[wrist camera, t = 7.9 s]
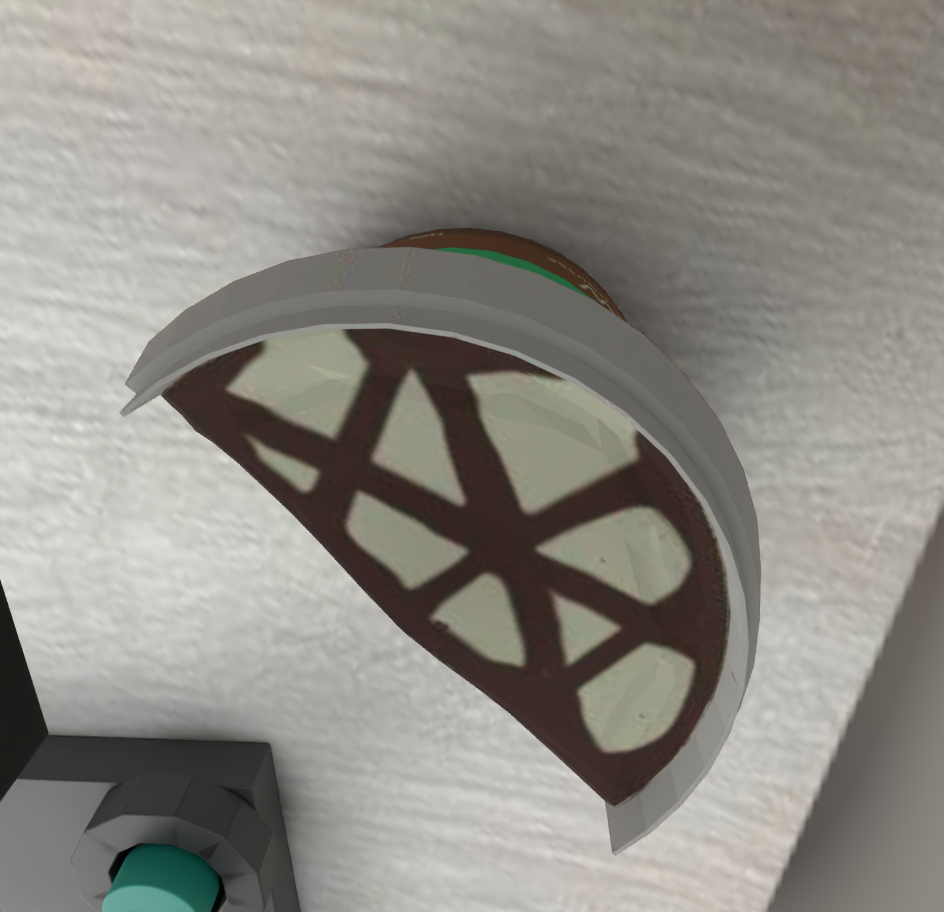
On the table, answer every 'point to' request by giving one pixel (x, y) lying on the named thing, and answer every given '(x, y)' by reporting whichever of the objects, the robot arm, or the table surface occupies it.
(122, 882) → the button
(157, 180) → the table surface
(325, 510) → the food container
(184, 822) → the grey button box
